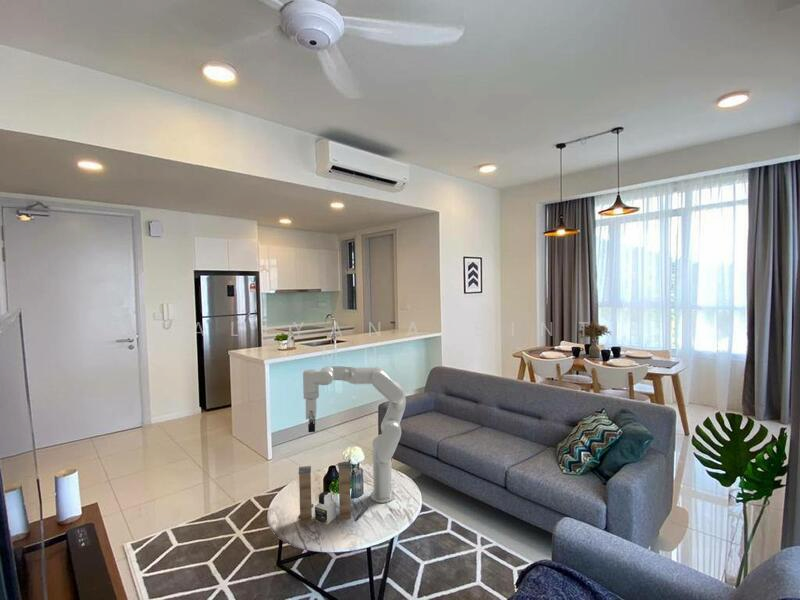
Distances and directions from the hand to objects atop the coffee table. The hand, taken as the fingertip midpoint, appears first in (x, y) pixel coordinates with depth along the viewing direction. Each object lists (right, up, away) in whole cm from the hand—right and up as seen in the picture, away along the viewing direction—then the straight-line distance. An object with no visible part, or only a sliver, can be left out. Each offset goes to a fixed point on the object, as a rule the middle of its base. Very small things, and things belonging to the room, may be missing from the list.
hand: (312, 428), depth 192 cm
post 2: (+18, -38, -10) cm, 44 cm away
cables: (+12, -38, -8) cm, 41 cm away
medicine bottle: (+9, -39, -12) cm, 42 cm away
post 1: (0, -39, -14) cm, 41 cm away
